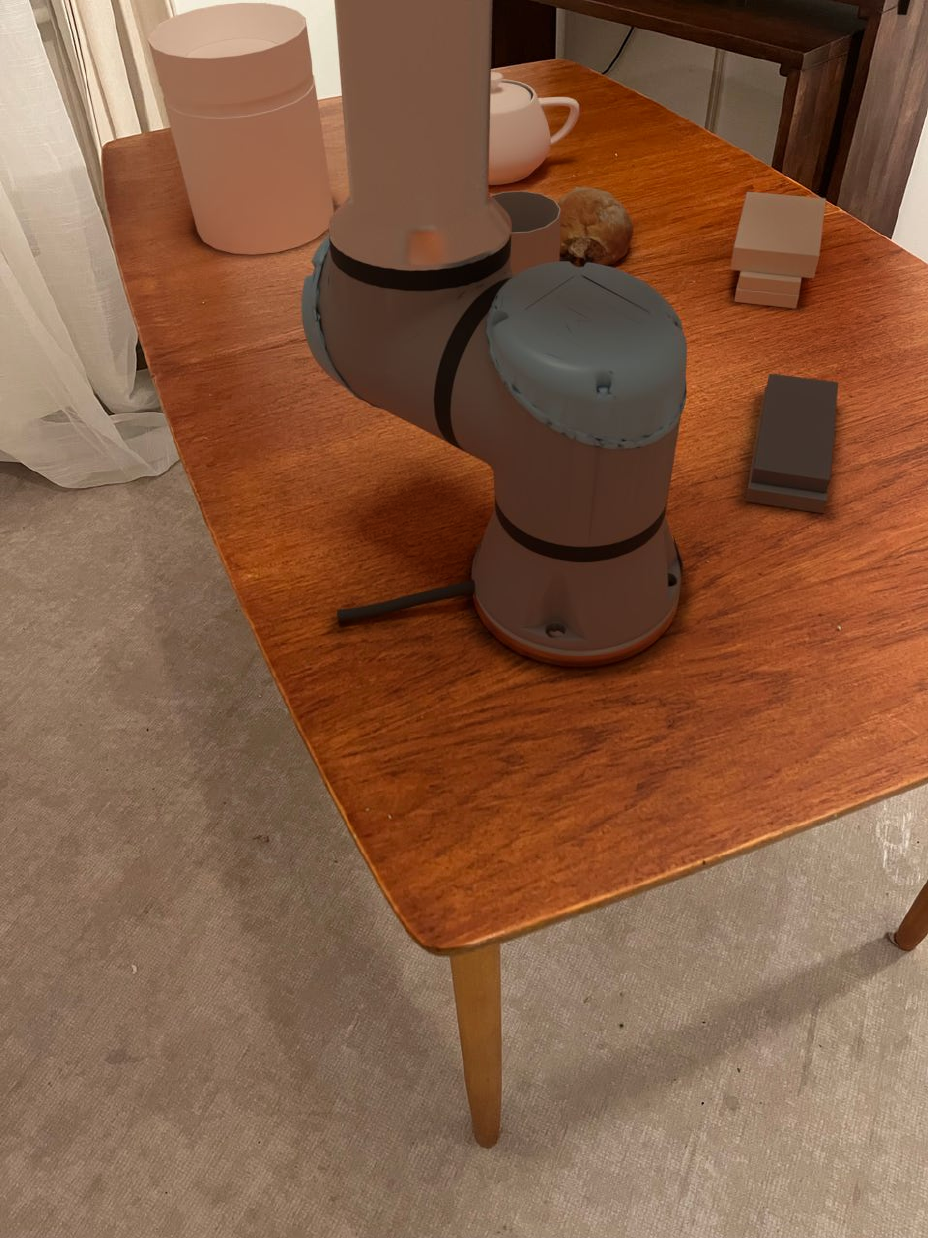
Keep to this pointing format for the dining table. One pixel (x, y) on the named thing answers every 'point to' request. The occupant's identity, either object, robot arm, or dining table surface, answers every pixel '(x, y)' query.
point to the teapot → (521, 129)
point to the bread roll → (593, 227)
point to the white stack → (768, 289)
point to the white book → (779, 235)
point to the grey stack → (794, 444)
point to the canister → (245, 124)
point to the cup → (532, 228)
